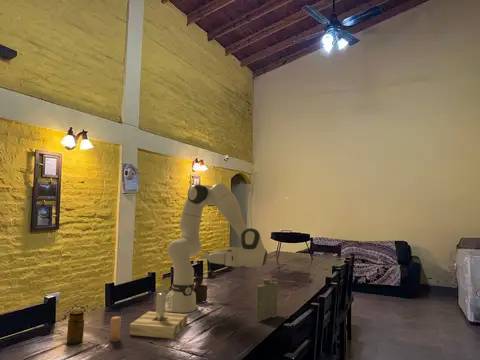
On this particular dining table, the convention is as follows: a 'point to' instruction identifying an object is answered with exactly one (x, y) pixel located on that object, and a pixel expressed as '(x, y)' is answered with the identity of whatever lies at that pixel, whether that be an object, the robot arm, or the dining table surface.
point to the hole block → (158, 325)
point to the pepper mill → (201, 288)
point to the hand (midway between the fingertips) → (203, 255)
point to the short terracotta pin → (115, 329)
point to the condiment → (75, 329)
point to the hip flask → (266, 300)
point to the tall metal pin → (160, 307)
